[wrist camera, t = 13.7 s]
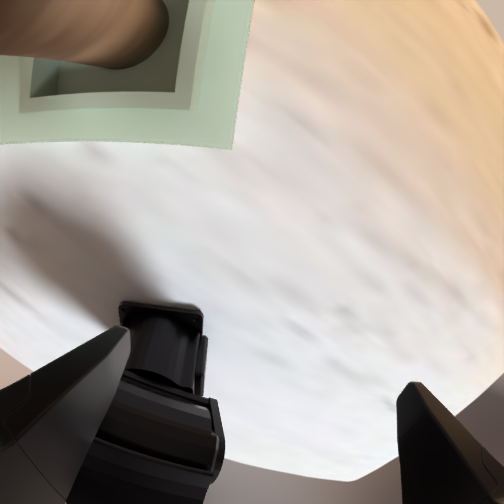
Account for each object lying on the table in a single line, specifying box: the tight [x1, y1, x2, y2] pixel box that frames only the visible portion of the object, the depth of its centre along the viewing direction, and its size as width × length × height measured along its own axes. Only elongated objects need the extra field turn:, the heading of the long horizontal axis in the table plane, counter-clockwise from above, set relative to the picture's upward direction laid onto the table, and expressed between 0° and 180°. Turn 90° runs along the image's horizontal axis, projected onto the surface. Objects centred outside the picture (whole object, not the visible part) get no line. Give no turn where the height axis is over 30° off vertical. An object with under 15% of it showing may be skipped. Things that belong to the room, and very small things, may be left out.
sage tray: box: [0, 0, 254, 150], centre depth 12 cm, size 18×14×4 cm
